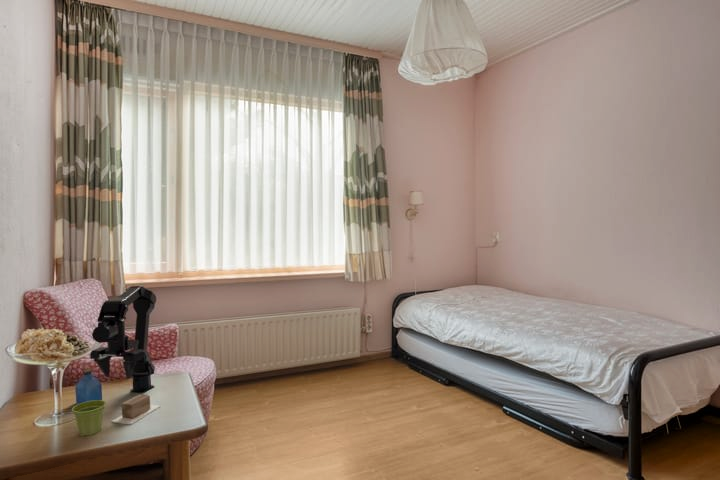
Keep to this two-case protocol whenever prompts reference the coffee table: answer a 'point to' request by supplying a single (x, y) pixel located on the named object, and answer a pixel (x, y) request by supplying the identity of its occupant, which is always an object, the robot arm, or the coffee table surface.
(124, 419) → the placemat
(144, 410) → the walnut block
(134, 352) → the robot arm
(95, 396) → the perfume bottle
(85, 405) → the plant pot
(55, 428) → the coffee table surface
